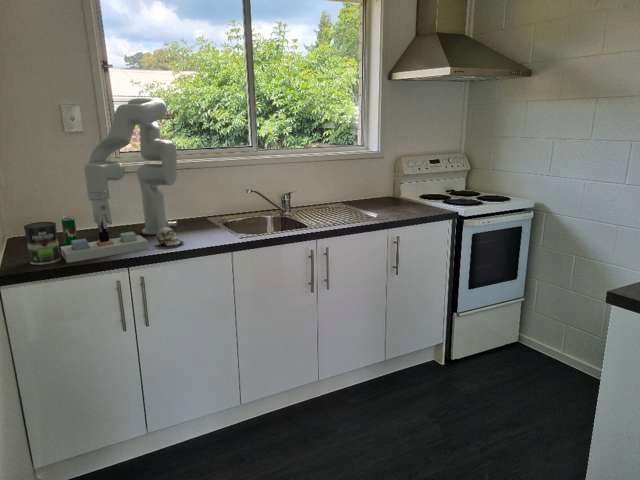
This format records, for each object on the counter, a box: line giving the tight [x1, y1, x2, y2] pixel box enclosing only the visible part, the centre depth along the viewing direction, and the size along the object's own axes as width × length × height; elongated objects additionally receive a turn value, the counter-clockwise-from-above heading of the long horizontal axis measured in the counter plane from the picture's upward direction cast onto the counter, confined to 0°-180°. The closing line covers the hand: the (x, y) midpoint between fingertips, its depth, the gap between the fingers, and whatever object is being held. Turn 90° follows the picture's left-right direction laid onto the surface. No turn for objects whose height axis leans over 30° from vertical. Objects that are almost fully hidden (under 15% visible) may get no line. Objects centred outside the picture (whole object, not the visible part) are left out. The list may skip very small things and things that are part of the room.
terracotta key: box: [96, 238, 113, 247], centre depth 185 cm, size 5×5×4 cm
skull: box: [153, 227, 184, 249], centre depth 195 cm, size 12×10×10 cm
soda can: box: [60, 215, 78, 246], centre depth 195 cm, size 5×5×12 cm
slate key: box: [71, 238, 89, 251], centre depth 179 cm, size 5×5×4 cm
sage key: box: [119, 231, 137, 243], centre depth 190 cm, size 5×5×4 cm
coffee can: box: [23, 221, 62, 266], centre depth 173 cm, size 10×10×14 cm
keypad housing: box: [60, 234, 150, 264], centre depth 185 cm, size 30×12×4 cm, turn 127°
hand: (104, 241), depth 184 cm, fingers closed
